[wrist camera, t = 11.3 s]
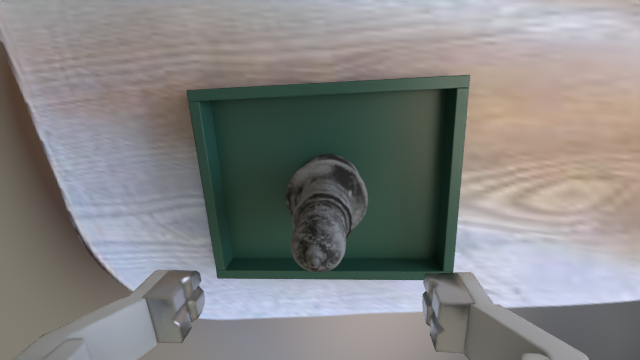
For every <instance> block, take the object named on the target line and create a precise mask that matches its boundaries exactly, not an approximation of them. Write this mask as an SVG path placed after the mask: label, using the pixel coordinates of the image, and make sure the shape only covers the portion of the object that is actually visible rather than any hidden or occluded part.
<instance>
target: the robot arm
mask: <svg viewBox="0 0 640 360" xmlns="http://www.w3.org/2000/svg"><path fill="white" fill-rule="evenodd" d="M200 282H201V277H200V273H199V272H197V271H188V270H157V271H155V272H154V273H153V274H152V275H151V276H149V277H148V278H147V279H146V280H145V281H144V282H143V283H142V284H141V285H140V286H139V287H138V288H137V289H136V290H135V291H134V292H133V293H132V294H131V295H129V297H127V298H121V299H119V300H117V301H115V302H113V303H111V304H108V305H106V306H104V307H102V308H100V309H98V310H96V311H93V312H91V313H89V314H87V315H85V316H83V317H81V318H78V319H76V320H74V321H72V322H70V323H68V324H66V325H63V326H61V327H59V328H57V329H55V330H53V331H50V332H48V333H46V334H44V335H42V336H41V337H39V338H38V339H37V340H36V341H34V342H33V343H32V344H31V345H29V346H28V347H27V348H26V349H25V350H24V351H22V352H21V353H20V354H18V355H17V356H16V357H15V358H13V359H12V360H138V359H139V358H141V357H142V356H143V355H145V354H146V353H147V352H148V351H150V350H151V349H152V348H153V347H155V346H156V345H157V344H158V343H182V342H183V341H184V339H185V337H186V336H187V334H188V333H189V331H190V330H191V328H192V326H191V322H193V321H194V320H196V319H197V318H198V317H199V316H200V314H201V313H202V310H203V306H204V291H203V290H202V289H201V288H200V287H199V284H200ZM423 284H424V286H425V289H426V291H425V293H424V294H423V302H422V303H423V313H424V317H425V321H426V323H427V325H429V326H430V336H431V339H432V342H433V345H434V347H435V350H436V352H449V353H464V354H465V356H466V357H467V358H468V359H469V360H589V358H588V357H587V356H586V355H585V354H584V353H582V352H580V351H578V350H576V349H575V348H573V347H571V346H570V345H568V344H566V343H564V342H562V341H561V340H559V339H558V338H556V337H554V336H552V335H551V334H549V333H547V332H545V331H544V330H542V329H540V328H539V327H537V326H535V325H533V324H532V323H530V322H528V321H526V320H525V319H523V318H521V317H520V316H518V315H516V314H514V313H513V312H511V311H509V310H507V309H506V308H504V307H502V306H500V305H495V304H493V302H492V301H491V299H490V298H489V296H488V295H487V293H486V292H485V291H484V289H483V288H482V286H481V285H480V283H479V282H478V280H477V279H476V277H475V276H474V274H473V273H471V272H458V273H425V275H424V282H423Z"/></svg>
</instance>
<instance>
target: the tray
mask: <svg viewBox="0 0 640 360" xmlns="http://www.w3.org/2000/svg"><path fill="white" fill-rule="evenodd" d="M469 83H470V75H458V76H439V77H421V78H402V79H384V80H365V81H347V82H329V83H310V84H292V85H273V86H255V87H236V88H218V89H199V90H187V96H188V101H189V108H190V114H191V120H192V126H193V132H194V138H195V144H196V150H197V156H198V162H199V168H200V174H201V180H202V186H203V192H204V198H205V204H206V211H207V217H208V223H209V229H210V235H211V241H212V247H213V253H214V259H215V265H216V272H217V278H235V279H355V280H424V275H425V273H453V268H454V256H455V245H456V233H457V221H458V210H459V198H460V186H461V175H462V163H463V152H464V140H465V128H466V117H467V105H468V94H469ZM324 154H334V155H339V156H341V157H343V158H345V159H347V160H348V161H350V162H351V163H352V164H353V165H354V166H355V168H356V169H357V171H358V173H359V176H360V177H361V179H362V180H363V182H364V184H365V187H366V190H367V195H368V205H367V209H366V213H365V215H364V217H363V218H362V220H361V222H360V223H359V224H358V225H357V226H356V227H355V228H354V229H353V230H351V233H350V235H349V237H348V238H347V239H346V249H345V254H344V256H343V258H342V260H341V262H340V263H339V264H338V265H337V266H336V267H335V268H333V269H332V270H330V271H327V272H322V273H315V272H310V271H308V270H306V269H303V268H302V267H301V266H300V265H298V264H297V262H296V261H295V260H294V258H293V256H292V253H291V247H290V242H291V236H292V234H293V231H294V229H293V223H292V218H291V216H290V214H289V211H288V209H287V205H286V191H287V186H288V184H289V182H290V180H291V178H292V177H293V175H294V174H295V173H296V172H297V171H298V170H299V169H300V168H302V167H303V166H304V165H305V164H306V163H307V162H308V161H310V160H311V159H312V158H314V157H317V156H319V155H324Z"/></svg>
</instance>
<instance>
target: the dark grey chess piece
mask: <svg viewBox="0 0 640 360" xmlns="http://www.w3.org/2000/svg"><path fill="white" fill-rule="evenodd" d="M286 205H287V209H288V211H289V214H290V216H291V218H292V223H293V229H294V231H293V234H292V236H291V242H290V247H291V253H292V256H293V258H294V260H295V261H296V262H297V264H298V265H300V266H301V267H302V268H303V269H306V270H308V271H310V272H315V273H322V272H327V271H330V270H332V269H333V268H335V267H336V266H337V265H338V264H339V263H340V262H341V260H342V258H343V256H344V254H345V249H346V239H347V238H348V237H349V235H350V233H351V230H353V229H354V228H355V227H356V226H357V225H358V224H359V223H360V222H361V220H362V218H363V217H364V215H365V213H366V209H367V205H368V195H367V190H366V187H365V184H364V182H363V180H362V179H361V177H360V176H359V173H358V171H357V169H356V168H355V166H354V165H353V164H352V163H351V162H350V161H348V160H347V159H345V158H343V157H341V156H339V155H334V154H324V155H319V156H317V157H314V158H312V159H311V160H310V161H308V162H307V163H306V164H305V165H304V166H303V167H302V168H300V169H299V170H298V171H297V172H296V173H295V174H294V175H293V177H292V178H291V180H290V182H289V184H288V186H287V191H286Z"/></svg>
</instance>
